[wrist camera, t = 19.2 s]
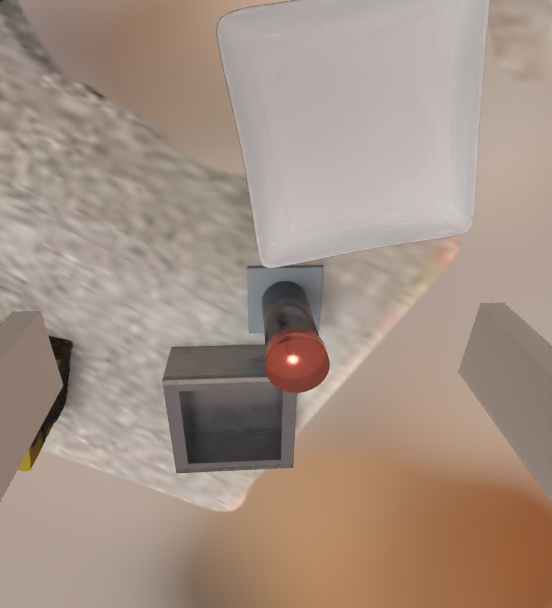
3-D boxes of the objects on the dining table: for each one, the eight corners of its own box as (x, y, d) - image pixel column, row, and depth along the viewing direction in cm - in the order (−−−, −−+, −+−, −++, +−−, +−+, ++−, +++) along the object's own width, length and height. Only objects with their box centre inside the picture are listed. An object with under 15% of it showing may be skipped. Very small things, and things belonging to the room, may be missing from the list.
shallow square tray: (183, 435, 54) (176, 473, 49) (171, 347, 48) (162, 380, 42) (288, 430, 55) (293, 467, 50) (291, 344, 48) (297, 376, 43)
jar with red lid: (259, 323, 46) (265, 393, 36) (259, 279, 44) (266, 341, 33) (307, 322, 47) (326, 391, 36) (310, 279, 44) (332, 339, 33)
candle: (-24, 318, 44) (-91, 377, 36) (74, 339, 46) (34, 399, 38) (-23, 390, 49) (-82, 457, 40) (67, 405, 51) (30, 473, 42)
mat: (249, 330, 47) (249, 333, 47) (247, 266, 43) (247, 268, 43) (317, 329, 48) (318, 331, 47) (322, 265, 44) (323, 267, 43)
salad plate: (473, -31, 33) (496, -42, 30) (459, 223, 43) (475, 233, 40) (213, 19, 33) (210, 13, 30) (261, 258, 44) (262, 272, 40)
